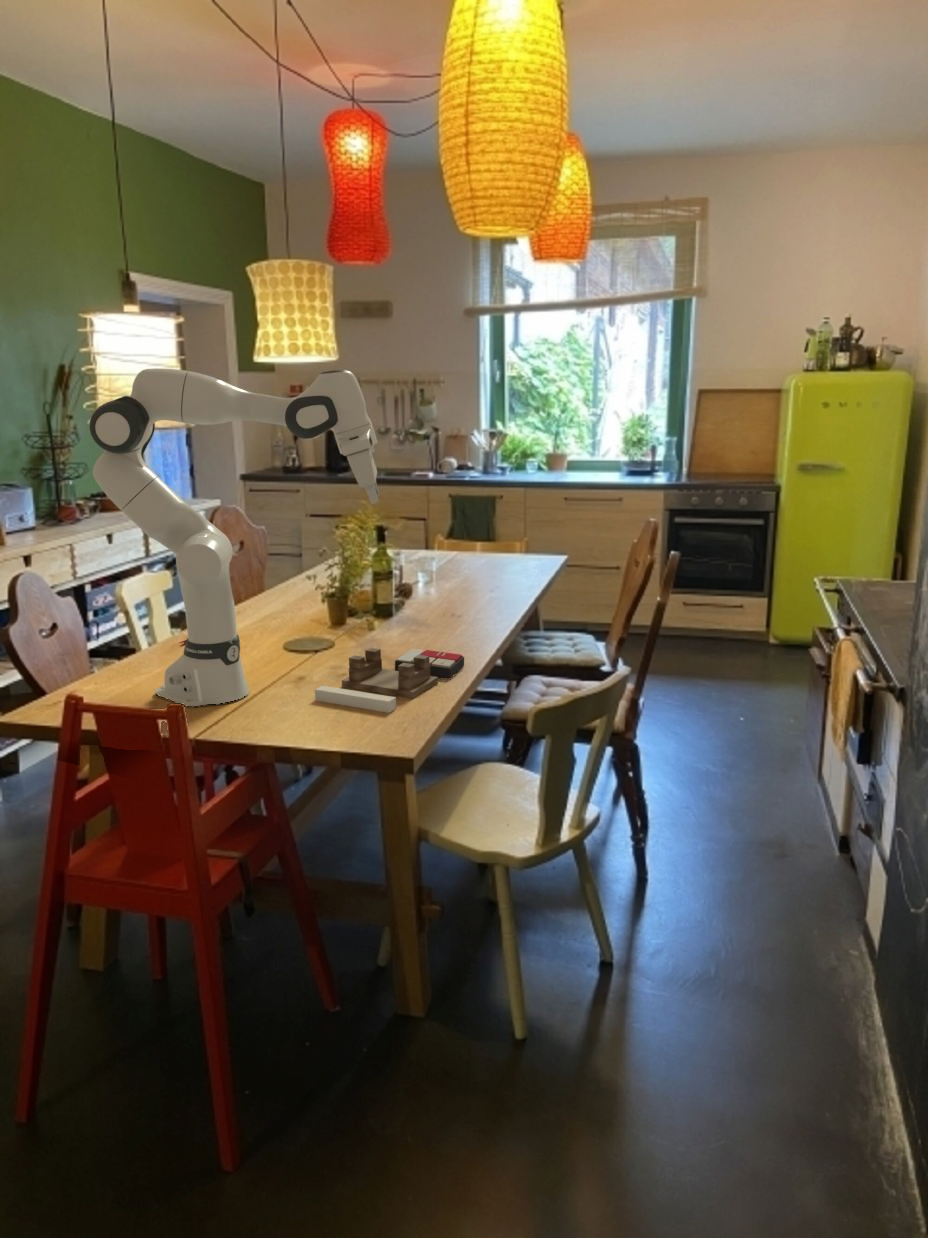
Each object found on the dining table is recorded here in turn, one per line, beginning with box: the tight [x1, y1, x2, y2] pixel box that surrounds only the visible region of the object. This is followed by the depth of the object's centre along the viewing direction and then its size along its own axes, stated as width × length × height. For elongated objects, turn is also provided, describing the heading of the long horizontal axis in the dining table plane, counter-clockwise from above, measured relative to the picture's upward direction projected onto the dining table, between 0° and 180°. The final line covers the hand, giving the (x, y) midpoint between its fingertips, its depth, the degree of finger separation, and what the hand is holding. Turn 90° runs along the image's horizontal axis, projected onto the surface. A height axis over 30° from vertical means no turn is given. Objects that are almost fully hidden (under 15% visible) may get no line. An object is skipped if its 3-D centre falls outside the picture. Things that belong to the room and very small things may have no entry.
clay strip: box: [314, 685, 397, 714], centre depth 202 cm, size 20×3×3 cm, turn 64°
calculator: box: [394, 648, 465, 680], centre depth 225 cm, size 11×4×15 cm
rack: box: [341, 647, 439, 699], centre depth 214 cm, size 20×12×7 cm, turn 62°
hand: (375, 499), depth 202 cm, fingers open, 8 cm apart
